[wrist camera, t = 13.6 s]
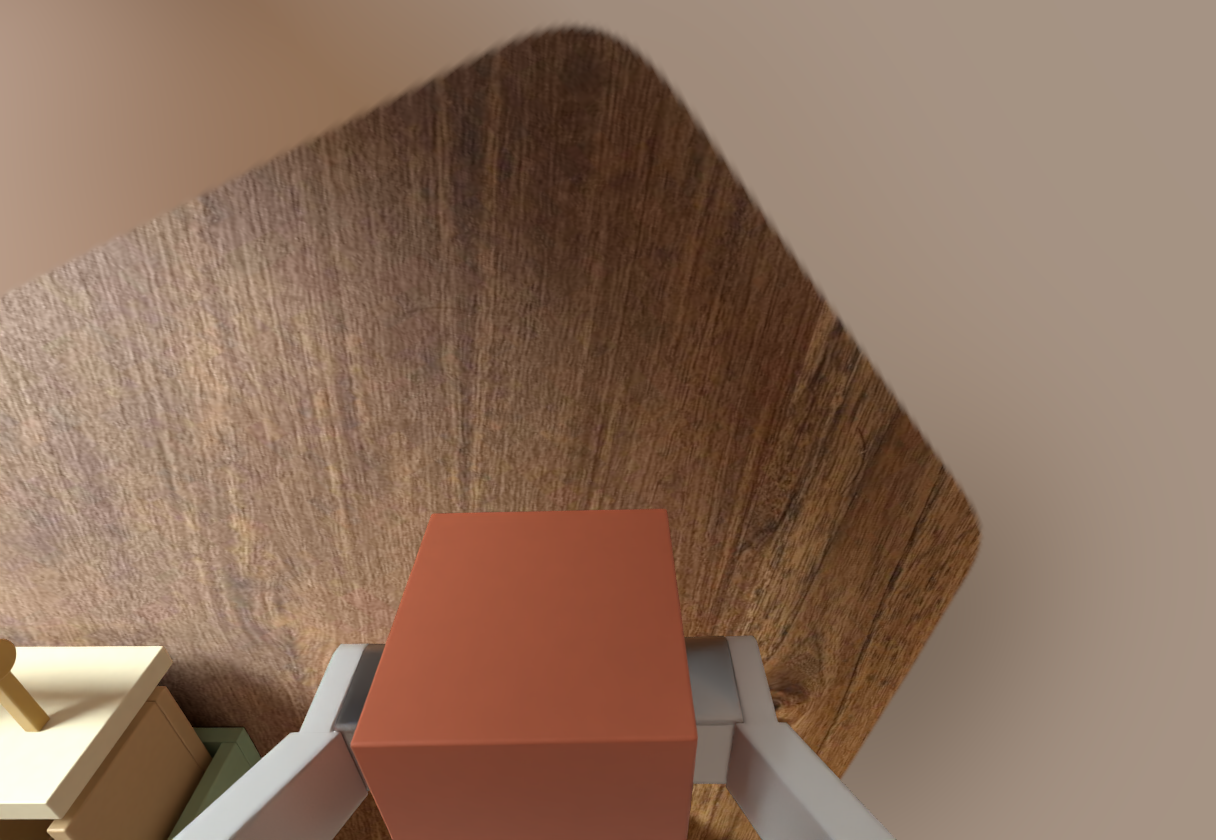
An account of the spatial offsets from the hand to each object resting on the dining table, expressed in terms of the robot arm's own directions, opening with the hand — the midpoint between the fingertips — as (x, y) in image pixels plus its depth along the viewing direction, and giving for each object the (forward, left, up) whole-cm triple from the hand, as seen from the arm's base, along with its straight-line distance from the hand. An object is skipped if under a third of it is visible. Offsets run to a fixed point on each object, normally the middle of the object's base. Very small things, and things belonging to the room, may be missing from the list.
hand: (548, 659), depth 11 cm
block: (0, 0, -2) cm, 2 cm away
